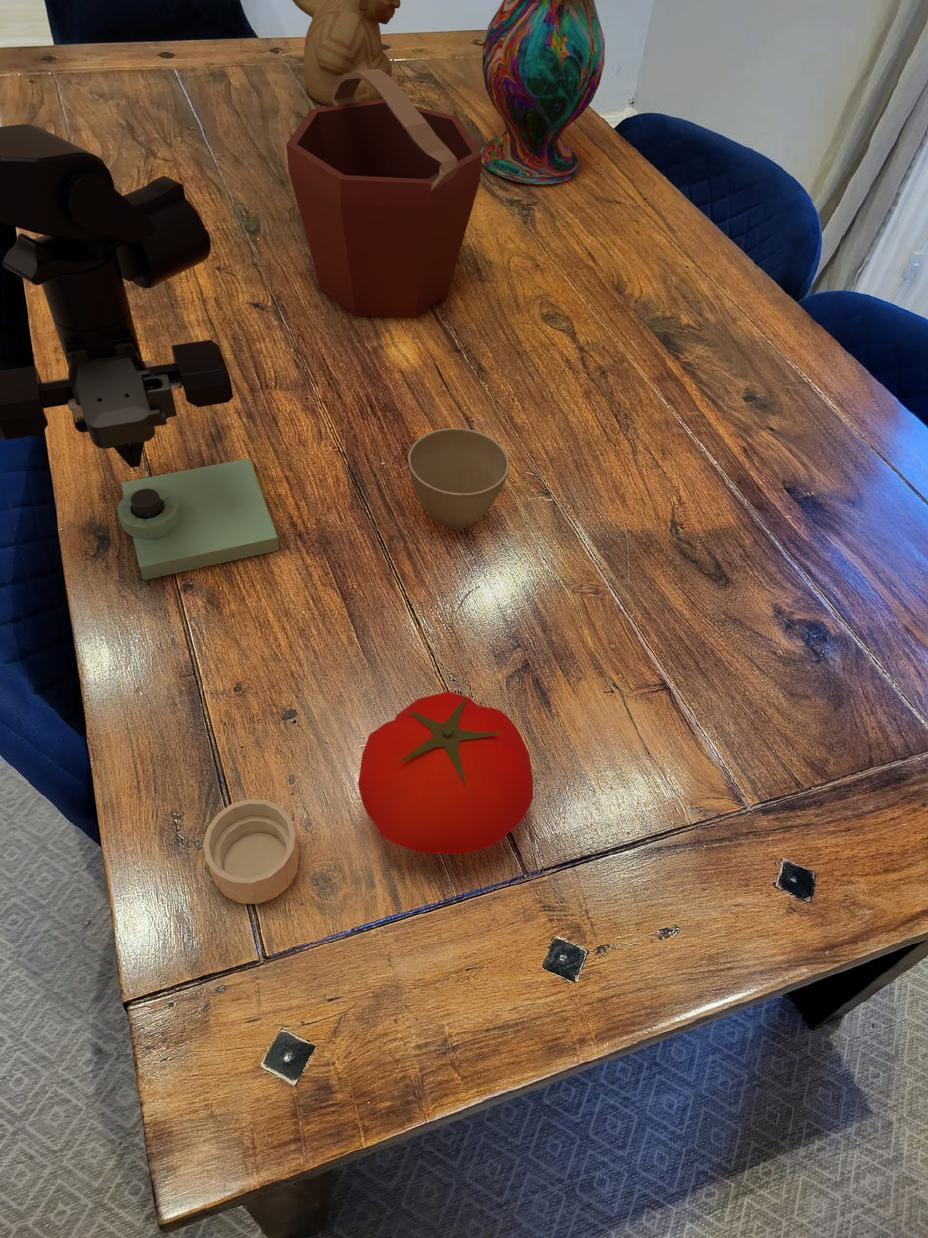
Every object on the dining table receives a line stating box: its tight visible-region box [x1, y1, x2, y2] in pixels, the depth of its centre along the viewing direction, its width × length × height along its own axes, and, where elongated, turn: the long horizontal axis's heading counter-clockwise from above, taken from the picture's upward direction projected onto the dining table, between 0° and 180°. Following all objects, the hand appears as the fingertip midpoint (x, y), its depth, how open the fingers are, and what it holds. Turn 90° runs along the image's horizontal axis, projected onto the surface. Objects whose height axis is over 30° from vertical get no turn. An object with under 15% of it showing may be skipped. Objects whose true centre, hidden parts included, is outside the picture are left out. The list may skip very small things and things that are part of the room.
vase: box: [480, 0, 606, 185], centre depth 132 cm, size 18×18×30 cm
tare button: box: [131, 489, 162, 519], centre depth 84 cm, size 3×3×2 cm
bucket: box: [286, 69, 483, 319], centre depth 108 cm, size 24×22×25 cm
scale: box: [116, 458, 280, 581], centre depth 86 cm, size 14×12×4 cm
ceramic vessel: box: [291, 0, 402, 107], centre depth 145 cm, size 17×20×25 cm
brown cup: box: [407, 427, 510, 530], centre depth 89 cm, size 10×10×7 cm
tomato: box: [357, 690, 534, 855], centre depth 66 cm, size 13×12×11 cm
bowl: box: [202, 798, 300, 905], centre depth 65 cm, size 6×6×4 cm
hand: (134, 464), depth 80 cm, fingers closed
